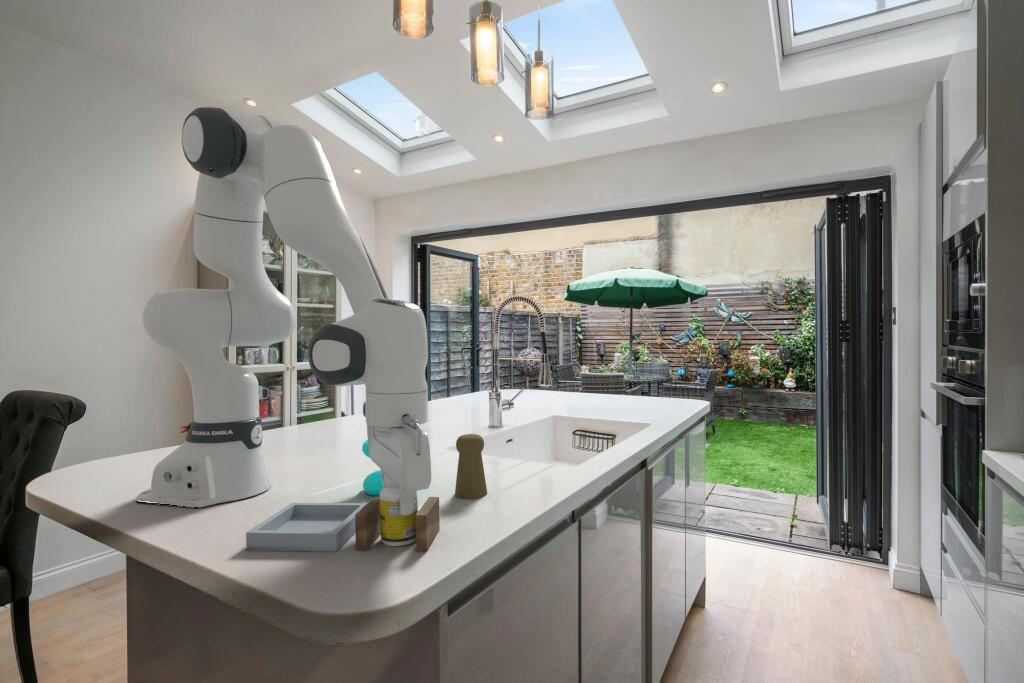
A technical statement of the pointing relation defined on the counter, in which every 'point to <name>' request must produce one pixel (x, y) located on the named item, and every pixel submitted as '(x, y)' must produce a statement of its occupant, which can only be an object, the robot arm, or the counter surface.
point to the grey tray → (305, 528)
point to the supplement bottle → (396, 516)
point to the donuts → (372, 477)
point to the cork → (470, 467)
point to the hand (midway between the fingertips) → (397, 505)
